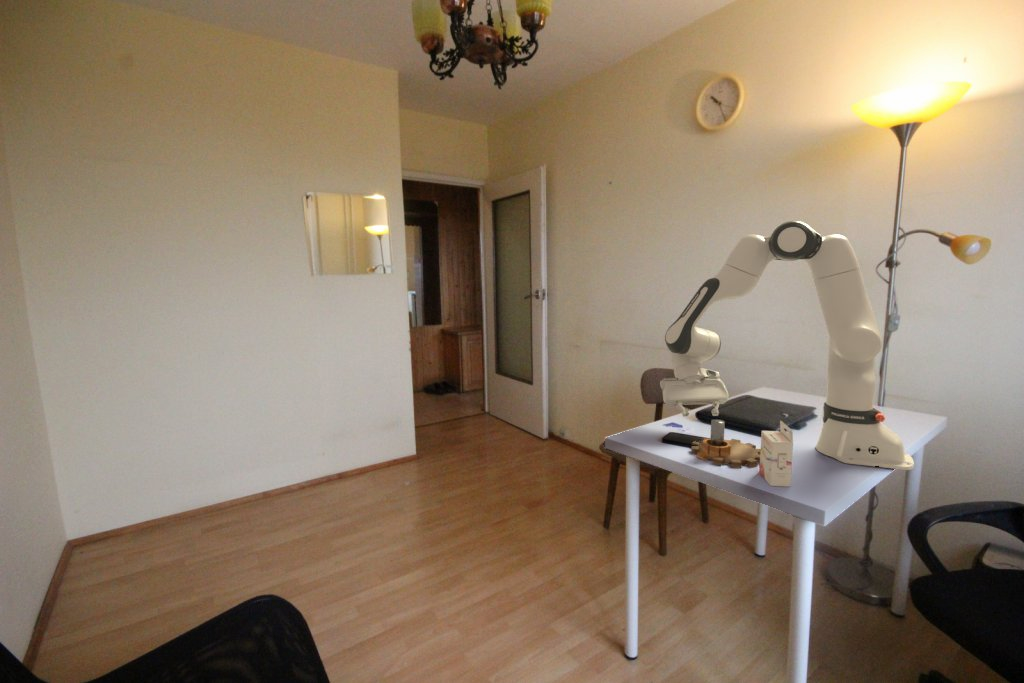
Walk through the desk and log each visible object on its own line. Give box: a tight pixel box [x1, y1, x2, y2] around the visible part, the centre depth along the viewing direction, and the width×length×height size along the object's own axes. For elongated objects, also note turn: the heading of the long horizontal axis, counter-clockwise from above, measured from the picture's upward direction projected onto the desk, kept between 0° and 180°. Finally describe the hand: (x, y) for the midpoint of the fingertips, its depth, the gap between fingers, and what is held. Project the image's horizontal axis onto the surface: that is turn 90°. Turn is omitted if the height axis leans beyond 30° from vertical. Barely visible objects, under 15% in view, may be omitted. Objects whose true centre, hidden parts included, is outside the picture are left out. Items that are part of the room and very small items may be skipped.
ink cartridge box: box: [758, 420, 794, 487], centre depth 118 cm, size 9×5×15 cm, turn 170°
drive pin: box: [709, 419, 726, 447], centre depth 134 cm, size 4×4×9 cm
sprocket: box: [690, 437, 761, 469], centre depth 136 cm, size 20×20×4 cm
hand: (701, 415), depth 145 cm, fingers open, 8 cm apart
